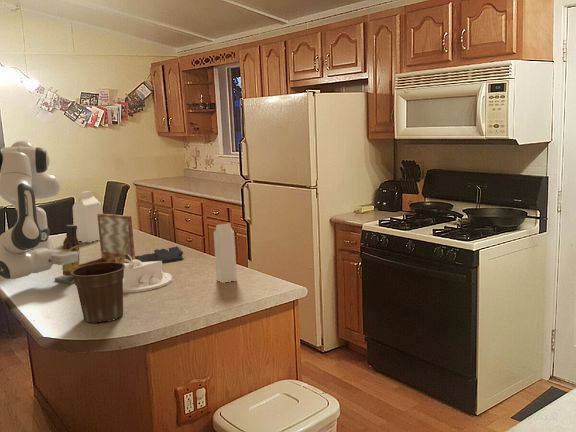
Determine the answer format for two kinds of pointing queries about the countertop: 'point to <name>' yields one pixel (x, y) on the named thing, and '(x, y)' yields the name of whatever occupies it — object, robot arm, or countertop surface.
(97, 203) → the milk
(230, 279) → the milk
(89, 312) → the plant pot
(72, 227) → the sauce bottle
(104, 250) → the cedar box
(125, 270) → the dish
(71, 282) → the slate tile
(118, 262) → the brown rounded block
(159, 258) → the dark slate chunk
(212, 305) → the countertop surface
